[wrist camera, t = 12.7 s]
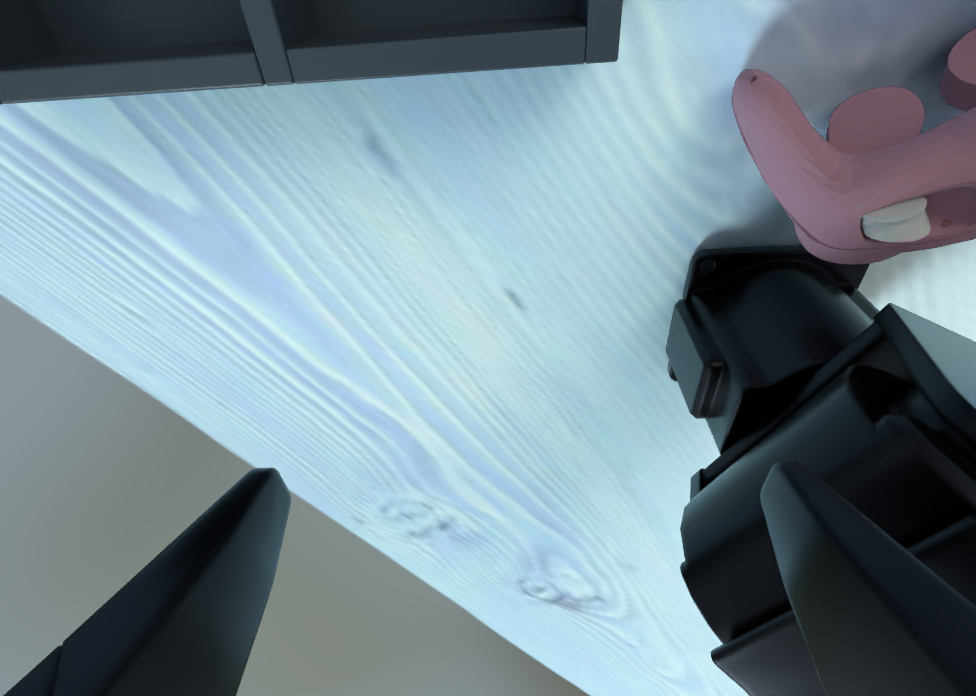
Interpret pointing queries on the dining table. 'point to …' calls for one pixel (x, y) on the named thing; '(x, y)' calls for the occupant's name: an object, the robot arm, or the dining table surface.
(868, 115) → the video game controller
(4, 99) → the grid
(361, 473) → the dining table surface
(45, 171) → the dining table surface
